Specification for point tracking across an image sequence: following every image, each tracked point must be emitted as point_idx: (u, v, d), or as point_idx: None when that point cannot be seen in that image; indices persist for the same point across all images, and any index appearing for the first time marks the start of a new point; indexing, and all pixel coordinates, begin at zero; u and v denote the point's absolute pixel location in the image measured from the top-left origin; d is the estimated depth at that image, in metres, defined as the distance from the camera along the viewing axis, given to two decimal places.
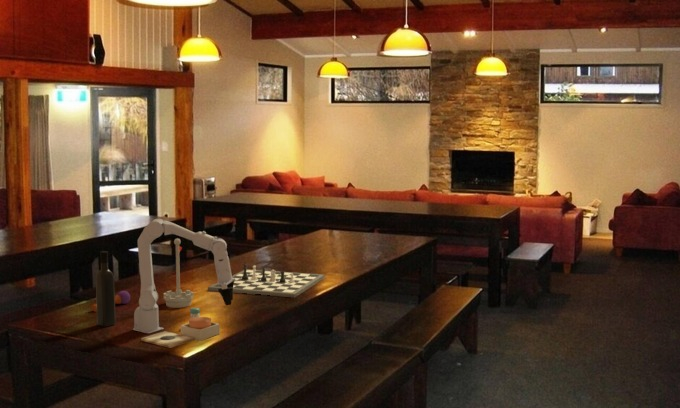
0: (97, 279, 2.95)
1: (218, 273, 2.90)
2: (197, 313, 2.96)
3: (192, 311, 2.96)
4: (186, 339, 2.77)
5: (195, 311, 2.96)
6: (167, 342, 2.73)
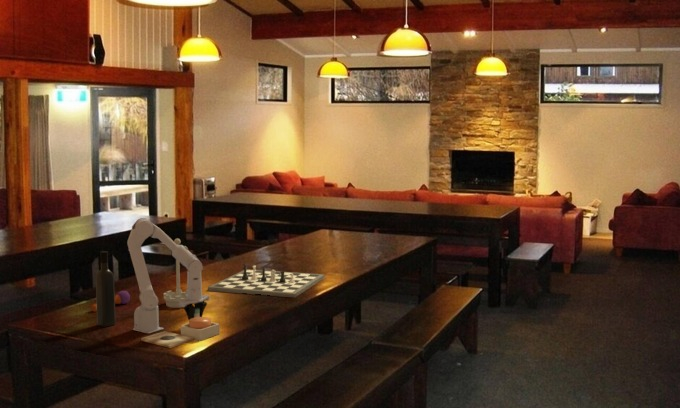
0: (97, 279, 2.95)
1: (187, 290, 2.96)
2: (197, 313, 2.96)
3: None
4: (186, 339, 2.77)
5: (195, 311, 2.96)
6: (167, 342, 2.73)
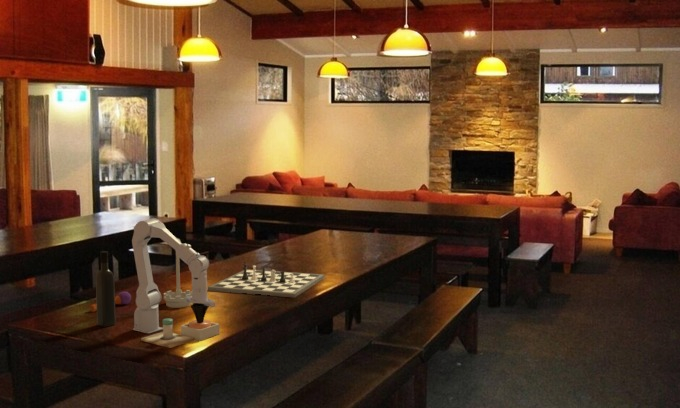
0: (97, 279, 2.95)
1: None
2: (170, 324, 2.76)
3: (164, 322, 2.76)
4: (186, 339, 2.77)
5: (168, 322, 2.76)
6: (167, 342, 2.73)
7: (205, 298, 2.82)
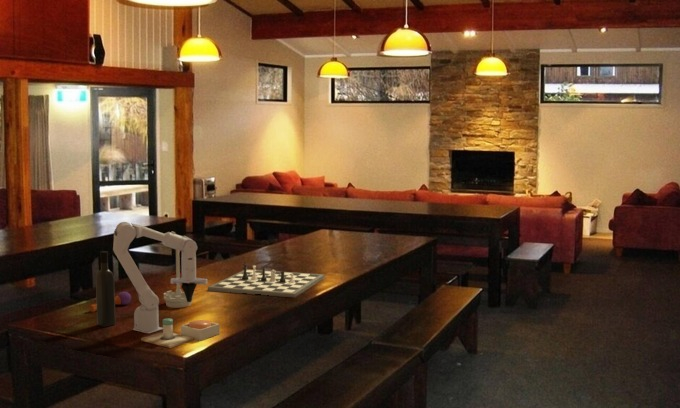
0: (97, 279, 2.95)
1: None
2: (170, 324, 2.76)
3: (164, 322, 2.76)
4: (186, 339, 2.77)
5: (168, 322, 2.76)
6: (167, 342, 2.73)
7: None
